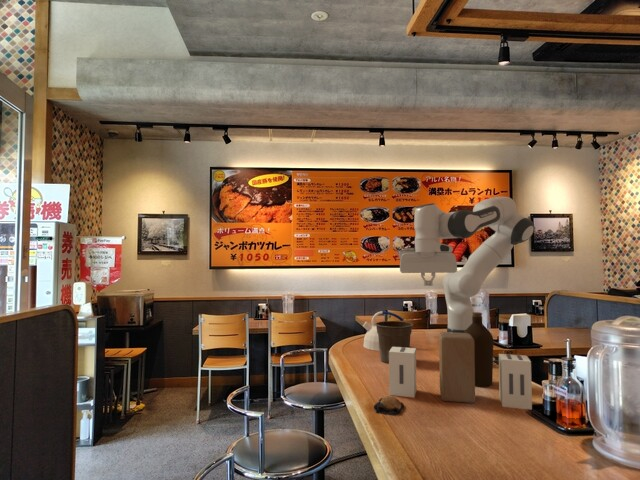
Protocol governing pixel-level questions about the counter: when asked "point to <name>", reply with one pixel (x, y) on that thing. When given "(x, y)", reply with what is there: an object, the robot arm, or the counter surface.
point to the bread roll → (389, 406)
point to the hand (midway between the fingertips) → (428, 285)
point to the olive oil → (482, 351)
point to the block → (457, 367)
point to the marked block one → (402, 371)
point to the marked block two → (515, 381)
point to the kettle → (374, 332)
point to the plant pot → (392, 336)
